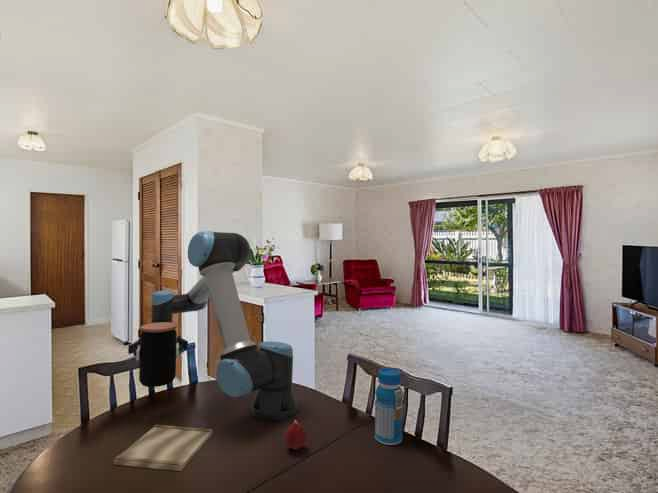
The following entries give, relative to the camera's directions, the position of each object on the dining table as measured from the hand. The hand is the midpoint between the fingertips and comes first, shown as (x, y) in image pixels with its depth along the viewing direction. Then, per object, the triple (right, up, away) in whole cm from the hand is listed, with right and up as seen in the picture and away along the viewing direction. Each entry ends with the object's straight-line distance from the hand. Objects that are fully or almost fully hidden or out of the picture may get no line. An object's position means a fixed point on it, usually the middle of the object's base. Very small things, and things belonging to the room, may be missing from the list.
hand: (157, 353), depth 113 cm
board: (+9, -22, -13) cm, 27 cm away
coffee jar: (-2, -10, +4) cm, 11 cm away
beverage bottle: (+71, -24, -5) cm, 75 cm away
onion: (+44, -23, -12) cm, 51 cm away
